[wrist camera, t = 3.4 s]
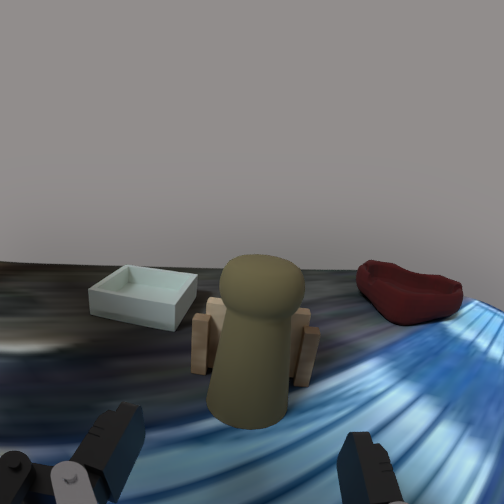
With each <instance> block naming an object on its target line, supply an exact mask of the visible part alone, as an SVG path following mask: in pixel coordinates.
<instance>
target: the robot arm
mask: <svg viewBox="0 0 504 504" xmlns="http://www.w3.org/2000/svg"><path fill="white" fill-rule="evenodd" d="M144 440H145V425H144V418H143V411H142V407H141V406H139V405H135V404H131V403H128V402H124V401H123V402H121V404H120V405H119V407H118V408H117V410H116V412H114V411H111V410H108V411H106V412H105V413H103V414H102V415H100V416H99V417H98V418H97V420H96V421H95V423H94V424H93V427H91V429H90V430H89V432H88V434H87V435H86V436H85V438H84V439H83V441H82V442H81V444H80V445H79V447H78V448H77V450H76V452H75V453H74V455H73V456H72V458H71V459H70V460H69V461H63V462H60V463H58V464H56V465H55V466H47V465H42V464H37V463H32V462H31V461H30V459H29V458H28V456H27V455H26V454H24V453H22V452H20V451H9V452H6V453H5V454H3V455H2V456H1V458H0V504H106V503H107V501H111V502H114V503H117V501H118V499H119V497H120V494H121V492H122V490H123V488H124V486H125V483H126V481H127V479H128V477H129V475H130V472H131V470H132V468H133V466H134V464H135V461H136V459H137V457H138V455H139V453H140V450H141V448H142V446H143V444H144ZM337 473H338V479H339V485H340V491H341V497H342V503H343V504H408V503H406V502H404V500H403V498H402V495H401V492H400V489H399V486H398V482H397V479H396V476H395V473H394V472H393V467H392V464H390V459H389V456H388V453H387V451H386V450H385V449H384V448H383V447H382V446H381V445H380V443H377V444H373V442H372V439H371V436H370V433H369V432H349V433H348V435H347V437H346V440H345V442H344V444H343V446H342V449H341V451H340V453H339V455H338V459H337Z"/></svg>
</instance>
